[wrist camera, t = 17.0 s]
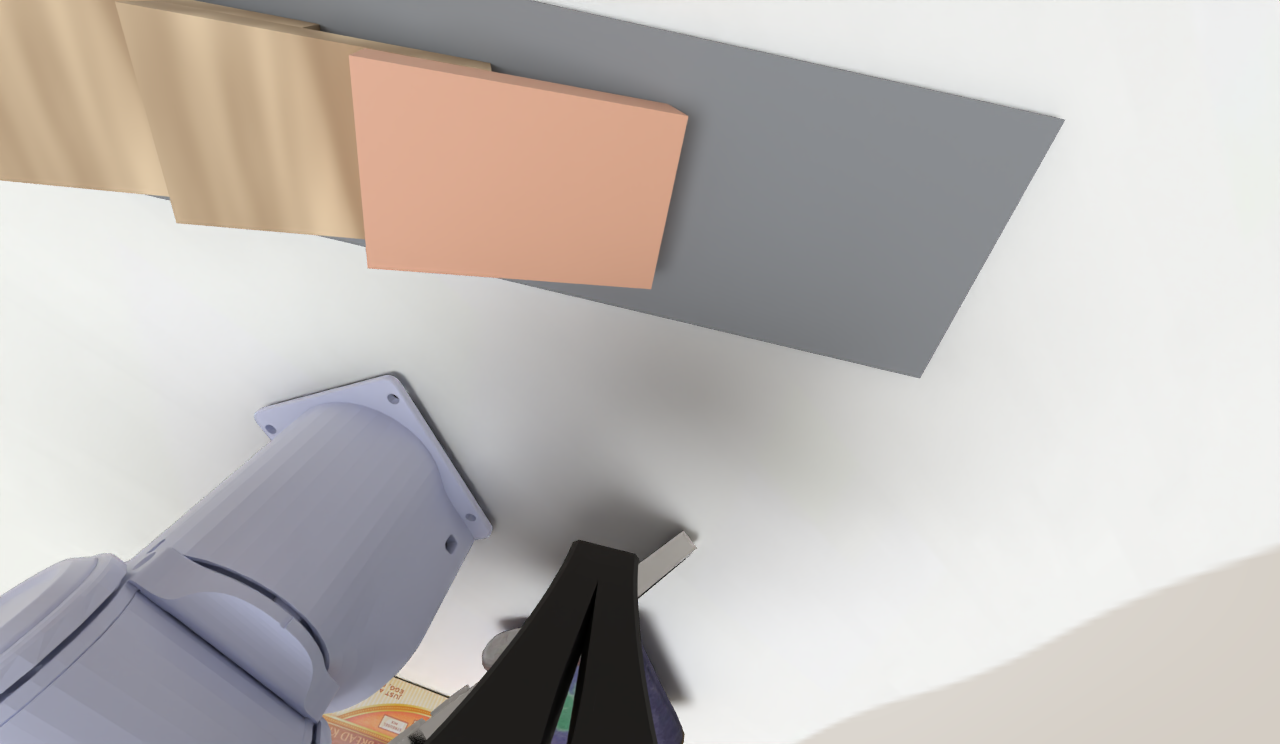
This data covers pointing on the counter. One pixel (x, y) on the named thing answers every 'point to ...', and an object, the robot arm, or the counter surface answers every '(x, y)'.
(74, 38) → the domino
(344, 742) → the coffeecake box
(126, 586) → the robot arm
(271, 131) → the domino
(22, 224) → the counter surface
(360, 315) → the counter surface
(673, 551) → the smartphone
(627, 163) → the domino
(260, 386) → the counter surface
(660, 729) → the navy pouch
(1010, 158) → the mat
